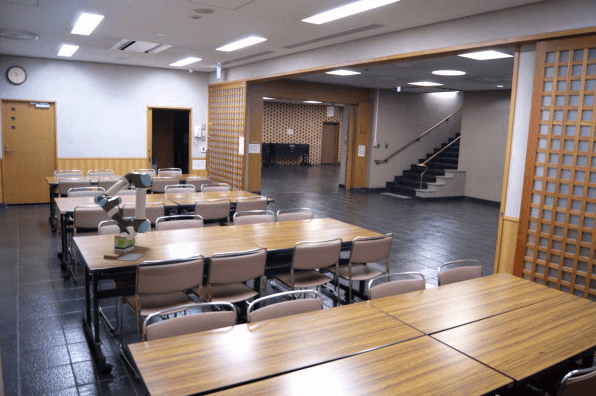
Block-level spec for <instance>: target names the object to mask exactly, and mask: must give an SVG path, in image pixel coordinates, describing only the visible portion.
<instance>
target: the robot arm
mask: <svg viewBox="0 0 596 396" xmlns="http://www.w3.org/2000/svg"><path fill="white" fill-rule="evenodd" d="M151 184H152V177H151V175H150V174H149V173H146V172H135V171H130V172H128V173H126V174H124V175H123V176H121V177H120V178H119V179H118V181H116V182H115V183H114V184H113V185H111V186H110V187H109V188H108V189H107V190H105V191H104V192H103V193H102V194H101V195H95V196H94V197H93V203H94V205H98V206H100V208H101V209H102V210H103V211H104V212H105V213H106V214H107V215H108V216H109V218H111V220H112V221H113V222H114V224H115V225H116V226H117V227H118V228H119V234H121V233H125V232H126V233H127V234H128V235H129V236H130V238H132V237H133V236H134V244H135V243H136V238H135V237H136V236H137V235H138V234H145V233H147V232H148V230H149V228H150V223H149V221H148V220H147V219H148V218H147V217H146V205H147V204H146V203H147V202H146V201H147V190H148V189H149V187H150V186H151ZM129 186H134V189H135V206H134V208H135V209H134V216H126V217H125V216H124V217H122V214H121V213H120V211H118V209H117V208H116V207H118V206H120V205H121V204H122V202H123V200H122V198H121V197H120V196H119V195H118V194H119V193H120V192H121V191H122V190H124V189H125V188H128V187H129ZM128 226H133V234H132V233H131V232H130V231H129V230H127V228H126V227H128Z"/></svg>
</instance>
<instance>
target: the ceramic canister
mask: <svg viewBox="0 0 596 396" xmlns="http://www.w3.org/2000/svg"><path fill="white" fill-rule="evenodd" d="M126 228H127V230H129V231H130V232H131V233H132V234H133V226H128V227H126ZM134 238H135V236H133V237H132V238H130V236H129V235H128V234H127V233H126V240H133V239H134Z"/></svg>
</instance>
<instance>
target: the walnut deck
mask: <svg viewBox="0 0 596 396" xmlns="http://www.w3.org/2000/svg"><path fill="white" fill-rule="evenodd" d="M124 255H126V253H125V252H123V251H114V250H111V251H109V252H107V253H105V254H104V255H103V259H110V260H117V259H119V258H121V257H122V256H124Z"/></svg>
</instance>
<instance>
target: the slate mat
mask: <svg viewBox="0 0 596 396" xmlns="http://www.w3.org/2000/svg"><path fill="white" fill-rule="evenodd" d="M144 256H145V254H143V253H142V254H141V253H140V254H139V253H128V252H127V253H125V255H123V256H122V257H120V258H118V259H116V260H117V261H124V262H136V261H137V260H139V259H140V258H142V257H144Z"/></svg>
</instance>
